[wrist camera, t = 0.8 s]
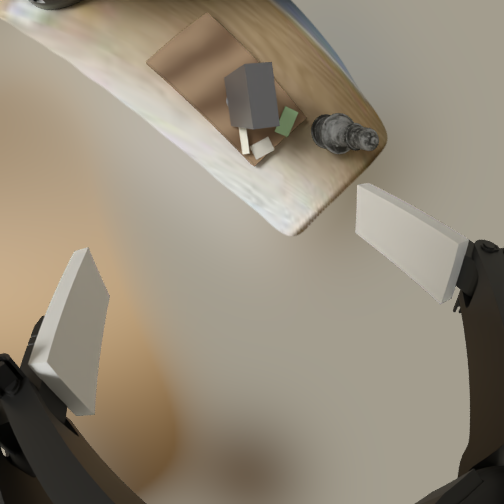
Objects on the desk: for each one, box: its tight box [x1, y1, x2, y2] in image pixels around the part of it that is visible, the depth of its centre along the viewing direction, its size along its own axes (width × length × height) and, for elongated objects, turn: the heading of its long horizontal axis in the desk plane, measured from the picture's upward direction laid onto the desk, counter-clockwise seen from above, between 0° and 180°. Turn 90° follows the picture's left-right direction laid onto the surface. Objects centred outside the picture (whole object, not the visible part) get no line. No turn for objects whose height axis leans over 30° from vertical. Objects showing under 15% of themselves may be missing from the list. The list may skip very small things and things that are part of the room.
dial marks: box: [250, 106, 298, 160], centre depth 35 cm, size 3×9×1 cm, turn 139°
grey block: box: [224, 62, 280, 154], centre depth 29 cm, size 10×3×10 cm, turn 8°
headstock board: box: [146, 13, 307, 166], centre depth 32 cm, size 20×10×2 cm, turn 43°
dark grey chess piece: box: [311, 113, 379, 154], centre depth 34 cm, size 6×6×12 cm
